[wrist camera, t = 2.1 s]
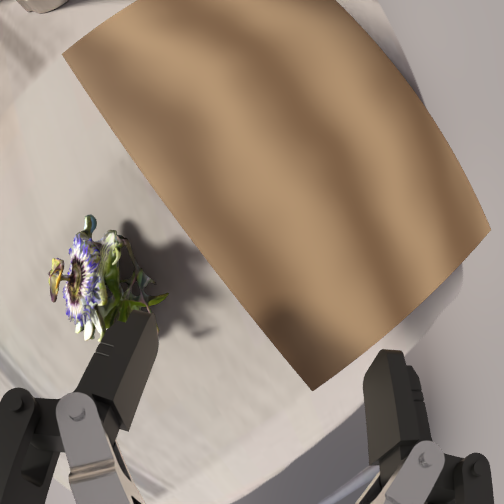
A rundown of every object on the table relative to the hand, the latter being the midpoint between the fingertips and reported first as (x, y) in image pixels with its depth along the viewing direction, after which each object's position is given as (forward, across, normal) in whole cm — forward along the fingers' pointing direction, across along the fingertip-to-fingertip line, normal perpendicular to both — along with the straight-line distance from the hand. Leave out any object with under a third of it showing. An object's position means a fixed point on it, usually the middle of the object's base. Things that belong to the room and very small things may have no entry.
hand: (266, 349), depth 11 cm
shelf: (+24, +2, +3) cm, 25 cm away
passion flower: (+17, +15, +14) cm, 26 cm away
